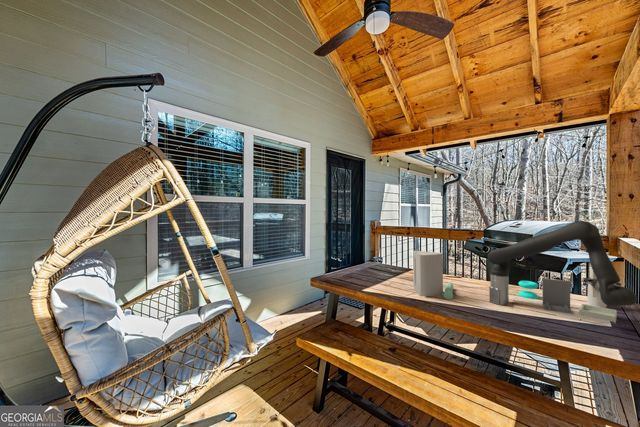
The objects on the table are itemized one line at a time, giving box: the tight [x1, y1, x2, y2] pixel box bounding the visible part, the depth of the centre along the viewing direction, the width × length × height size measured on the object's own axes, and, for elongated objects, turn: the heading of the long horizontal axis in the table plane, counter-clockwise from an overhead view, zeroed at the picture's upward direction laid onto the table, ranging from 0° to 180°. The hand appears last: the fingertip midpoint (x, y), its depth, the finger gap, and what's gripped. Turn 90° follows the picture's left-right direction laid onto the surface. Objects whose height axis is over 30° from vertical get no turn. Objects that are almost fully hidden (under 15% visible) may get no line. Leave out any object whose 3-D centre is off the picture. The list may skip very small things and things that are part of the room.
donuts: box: [518, 280, 539, 300], centre depth 171 cm, size 10×10×10 cm
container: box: [443, 282, 454, 300], centre depth 183 cm, size 6×6×25 cm
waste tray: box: [578, 303, 618, 324], centre depth 141 cm, size 13×13×4 cm
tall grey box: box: [412, 250, 444, 297], centre depth 182 cm, size 19×15×28 cm
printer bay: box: [542, 277, 575, 315], centre depth 150 cm, size 12×12×16 cm
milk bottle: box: [587, 284, 608, 308], centre depth 154 cm, size 8×8×20 cm
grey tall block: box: [589, 267, 601, 298], centre depth 140 cm, size 6×5×16 cm
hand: (596, 279), depth 142 cm, fingers closed on grey tall block, 5 cm apart
